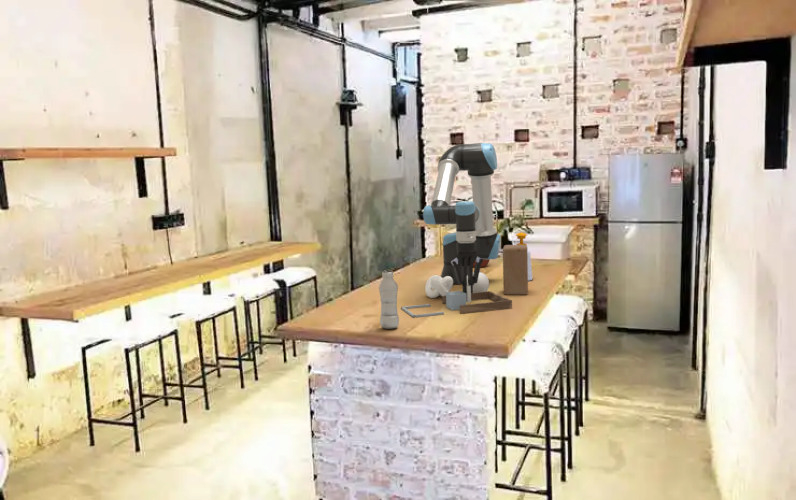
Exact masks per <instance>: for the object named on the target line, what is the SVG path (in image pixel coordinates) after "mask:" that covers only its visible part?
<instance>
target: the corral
mask: <svg viewBox="0 0 796 500" xmlns="http://www.w3.org/2000/svg"><path fill="white" fill-rule="evenodd" d="M431 306H432V304H431V303H426V304H416V305H406V306H401V307H400V309H401V310H402V311H403V312H405V313H406V314H407V315H409V316H410V317H411V318H413V319H414V318H415V317H416V318H424V317H432V316H441V315H443V316H444V314H445V312H444V311H438V312H437V311H436V312H428V313H421V314H415V313H413V312H412V311H410V310H409V309H418V308H419V309H420V308H427V307H429V308H430V307H431Z"/></svg>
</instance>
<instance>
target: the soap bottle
mask: <svg viewBox="0 0 796 500" xmlns="http://www.w3.org/2000/svg"><path fill="white" fill-rule="evenodd" d="M515 236H516V240H517V239H518V240H519V243H516V245H527V243H524V240H525V239H526V238H527V236H528V234H527V233H525V232H523V231H521V232H517V233H516V234H515ZM527 255H528V282H530V281H532V280H533V271H532V270H533V268H532V257H531V250H530V249H529V248H527Z"/></svg>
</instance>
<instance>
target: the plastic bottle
mask: <svg viewBox="0 0 796 500" xmlns="http://www.w3.org/2000/svg"><path fill="white" fill-rule="evenodd" d="M381 275H382V276H381V277H382V280H381V281H380V283H379V286H378V290H379V297H380V306H381V307H380V316H379V324H380V326H381V328H382V329H387V330H390V329H396V328H398V327H399V325H400V317H399V313H398V307H397V306H398V302H397V301H398V291H399V290H398V288H399V285H398V283H397V282H396V280H395V279H394V271H393V270H384V271H383V270H382V271H381Z"/></svg>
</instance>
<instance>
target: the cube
mask: <svg viewBox="0 0 796 500" xmlns="http://www.w3.org/2000/svg"><path fill="white" fill-rule="evenodd" d="M445 305H446V306H445V307H446V309H449V310H450V311H460V305H467V302H466V293H464V292H463V290H462V291H461V290H455V291H449V292H446V304H445Z"/></svg>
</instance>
